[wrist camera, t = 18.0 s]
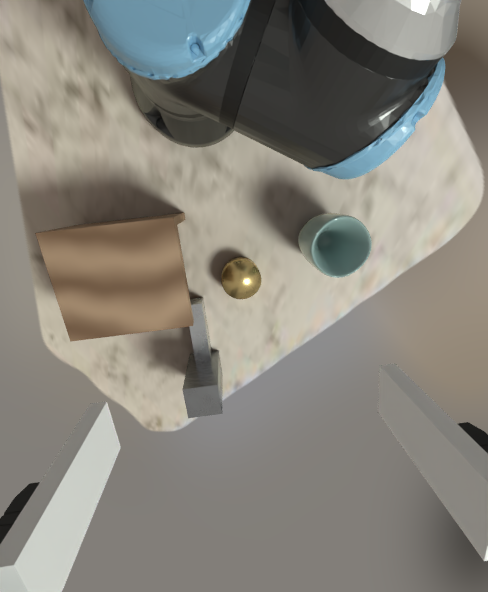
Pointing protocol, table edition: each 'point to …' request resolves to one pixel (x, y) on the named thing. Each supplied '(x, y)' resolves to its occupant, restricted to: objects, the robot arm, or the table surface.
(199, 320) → the grey toy mallet
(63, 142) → the table surface
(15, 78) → the table surface
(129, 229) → the brown piece
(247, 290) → the gold metal dome
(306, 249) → the cup
